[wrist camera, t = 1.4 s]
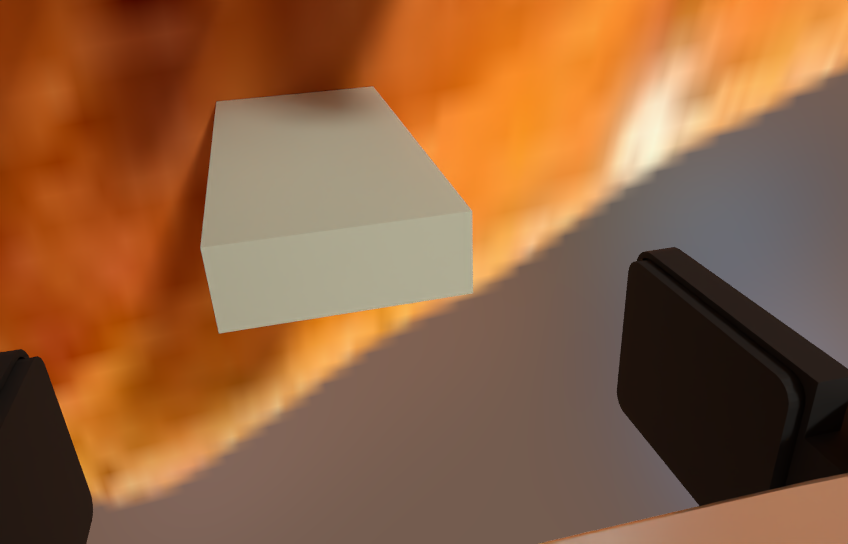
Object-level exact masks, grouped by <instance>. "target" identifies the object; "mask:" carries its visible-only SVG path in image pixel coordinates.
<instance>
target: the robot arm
mask: <svg viewBox="0 0 848 544" xmlns="http://www.w3.org/2000/svg"><path fill="white" fill-rule="evenodd" d="M617 397H618V401H619V404H620V407H621V409H622V410H623V412H624V413H625V414H626V416H627V417H628V418H629V419H630V420H631V422H632V423H633V424H634V425H635V427H636V428H637V429H638V430H639V432H640V433H641V434H642V435H643V437H644V438H645V439H646V440H647V441H648V443H649V444H650V445H651V446H652V448H653V449H654V450H655V451H656V452H657V454H658V455H659V456H660V457H661V459H662V460H663V461H664V462H665V464H666V465H667V466H668V467H669V469H670V470H671V471H672V472H673V474H674V475H675V476H676V477H677V478H678V480H679V481H680V482H681V483H682V485H683V486H684V487H685V488H686V490H687V491H688V492H689V493H690V494H691V496H692V497H693V498H694V499H695V501H696V502H697V503H698V504H699V506H698V507H694V508H690V509H685V510H681V511H677V512H672V513H668V514H664V515H659V516H655V517H650V518H646V519H642V520H638V521H633V522H629V523H625V524H620V525H616V526H612V527H607V528H603V529H599V530H594V531H590V532H586V533H582V534H577V535H574V536H569V537H565V538H560V539H556V540H552V541H548V542H543V543H539V544H848V369H847V368H846V367H844V366H843V365H842V364H840V363H839V362H837V361H836V360H835V359H833V358H832V357H830V356H829V355H828V354H826V353H825V352H823V351H822V350H821V349H819V348H818V347H816V346H815V345H813V344H812V343H810V342H809V341H808V340H806V339H805V338H804V337H802V336H801V335H799V334H798V333H797V332H795V331H794V330H792V329H791V328H790V327H788V326H787V325H785V324H784V323H782V322H781V321H779V320H778V319H777V318H775V317H774V316H773V315H771V314H770V313H768V312H767V311H766V310H764V309H763V308H761V307H760V306H758V305H757V304H756V303H754V302H753V301H751V300H750V299H749V298H747V297H746V296H744V295H743V294H742V293H740V292H739V291H737V290H736V289H735V288H733V287H732V286H730V285H729V284H728V283H726V282H725V281H723V280H722V279H721V278H719V277H718V276H716V275H715V274H714V273H712V272H711V271H709V270H708V269H706V268H705V267H704V266H702V265H701V264H699V263H698V262H697V261H695V260H694V259H692V258H691V257H690V256H688V255H687V254H685V253H684V252H682V251H681V250H680V249H678V248H675V247H672V248H665V249H659V250H653V251H646V252H642V253H641V254H640V255H639V257H638V259H637V261H636V262H633V263H631V265H630V267H629V271H628V281H627V291H626V302H625V312H624V322H623V333H622V343H621V354H620V365H619V374H618V385H617ZM92 516H93V504H92V497H91V494H90V491H89V488H88V485H87V482H86V479H85V477H84V474H83V471H82V468H81V465H80V462H79V460H78V457H77V454H76V451H75V448H74V446H73V443H72V440H71V437H70V434H69V431H68V429H67V426H66V423H65V420H64V417H63V415H62V412H61V409H60V406H59V403H58V401H57V398H56V395H55V392H54V389H53V386H52V384H51V381H50V378H49V375H48V372H47V370H46V367H45V364H44V362H43V361H42V359H41V358H40V357H32V358H29V356H28V354H27V353H26V352H25V351H24V350H22V349H20V350H13V351H7V352H1V353H0V544H86V542H87V538H88V534H89V530H90V526H91V522H92Z"/></svg>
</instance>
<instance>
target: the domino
mask: <svg viewBox="0 0 848 544" xmlns="http://www.w3.org/2000/svg"><path fill="white" fill-rule="evenodd" d="M200 249H201V253H202V258H203V263H204V267H205V272H206V276H207V281H208V286H209V290H210V295H211V300H212V304H213V309H214V313H215V318H216V323H217V327H218V332H219V333H226V332H232V331H238V330H245V329H251V328H257V327H263V326H270V325H276V324H282V323H289V322H295V321H301V320H308V319H314V318H320V317H326V316H333V315H339V314H345V313H352V312H358V311H364V310H371V309H377V308H383V307H389V306H396V305H402V304H408V303H415V302H421V301H427V300H434V299H440V298H446V297H452V296H459V295H465V294H471V293H473V249H472V210H471V209H470V208H469V206H468V205H467V204H466V203H465V201H464V200H463V199H462V198H461V196H460V195H459V194H458V193H457V191H456V190H455V189H454V188H453V186H452V185H451V184H450V183H449V181H448V180H447V179H446V178H445V176H444V175H443V174H442V172H441V171H440V170H439V169H438V167H437V166H436V165H435V164H434V162H433V161H432V160H431V159H430V157H429V156H428V155H427V154H426V152H425V151H424V150H423V149H422V147H421V146H420V145H419V144H418V142H417V141H416V140H415V139H414V137H413V136H412V135H411V133H410V132H409V131H408V130H407V128H406V127H405V126H404V125H403V123H402V122H401V121H400V120H399V118H398V117H397V116H396V115H395V113H394V112H393V111H392V110H391V108H390V107H389V106H388V105H387V103H386V102H385V101H384V99H383V98H382V97H381V96H380V94H379V93H378V92H377V91H376V89H375V88H374V87H373V86H372V87H362V88H352V89H341V90H331V91H321V92H310V93H300V94H290V95H279V96H269V97H259V98H248V99H238V100H228V101H217V102H216V109H215V118H214V127H213V137H212V146H211V155H210V164H209V173H208V182H207V191H206V200H205V210H204V219H203V228H202V237H201V246H200Z"/></svg>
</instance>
